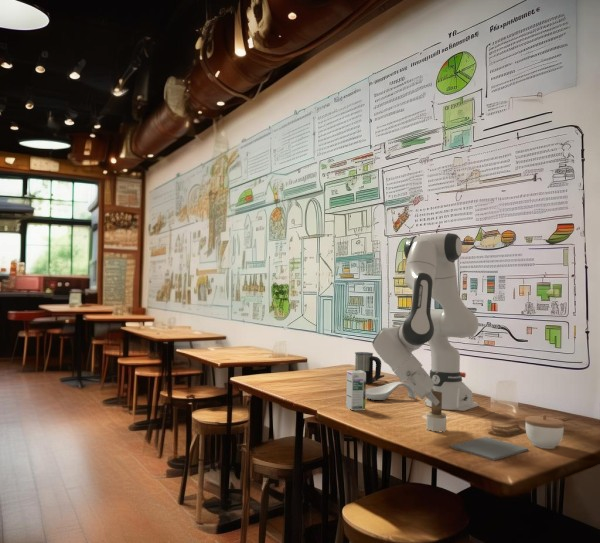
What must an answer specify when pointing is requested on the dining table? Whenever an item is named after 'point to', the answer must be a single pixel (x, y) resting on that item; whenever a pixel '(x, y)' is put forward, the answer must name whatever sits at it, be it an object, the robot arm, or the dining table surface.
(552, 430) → the lidded jar
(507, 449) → the mat
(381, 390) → the spoon rest
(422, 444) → the dining table surface
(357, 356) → the milk frother
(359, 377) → the syrup box
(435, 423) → the white octagonal base
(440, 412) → the brown peg on disc
